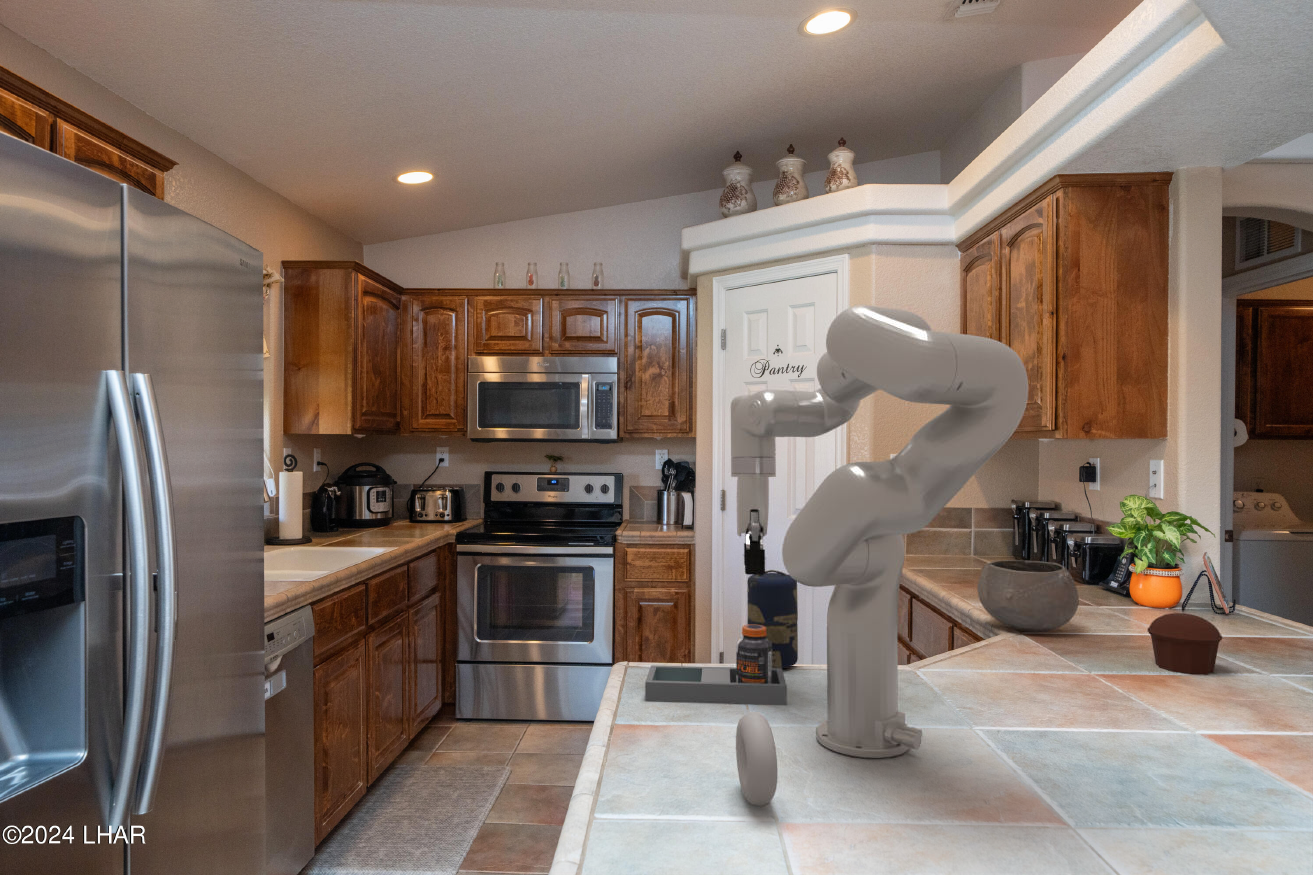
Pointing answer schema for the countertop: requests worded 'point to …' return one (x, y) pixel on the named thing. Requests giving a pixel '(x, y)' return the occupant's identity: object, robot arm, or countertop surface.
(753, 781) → the donut
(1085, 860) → the countertop surface
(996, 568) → the clay pot
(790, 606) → the canister
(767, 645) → the pill bottle
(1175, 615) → the muffin
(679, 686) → the frame
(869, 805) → the countertop surface
